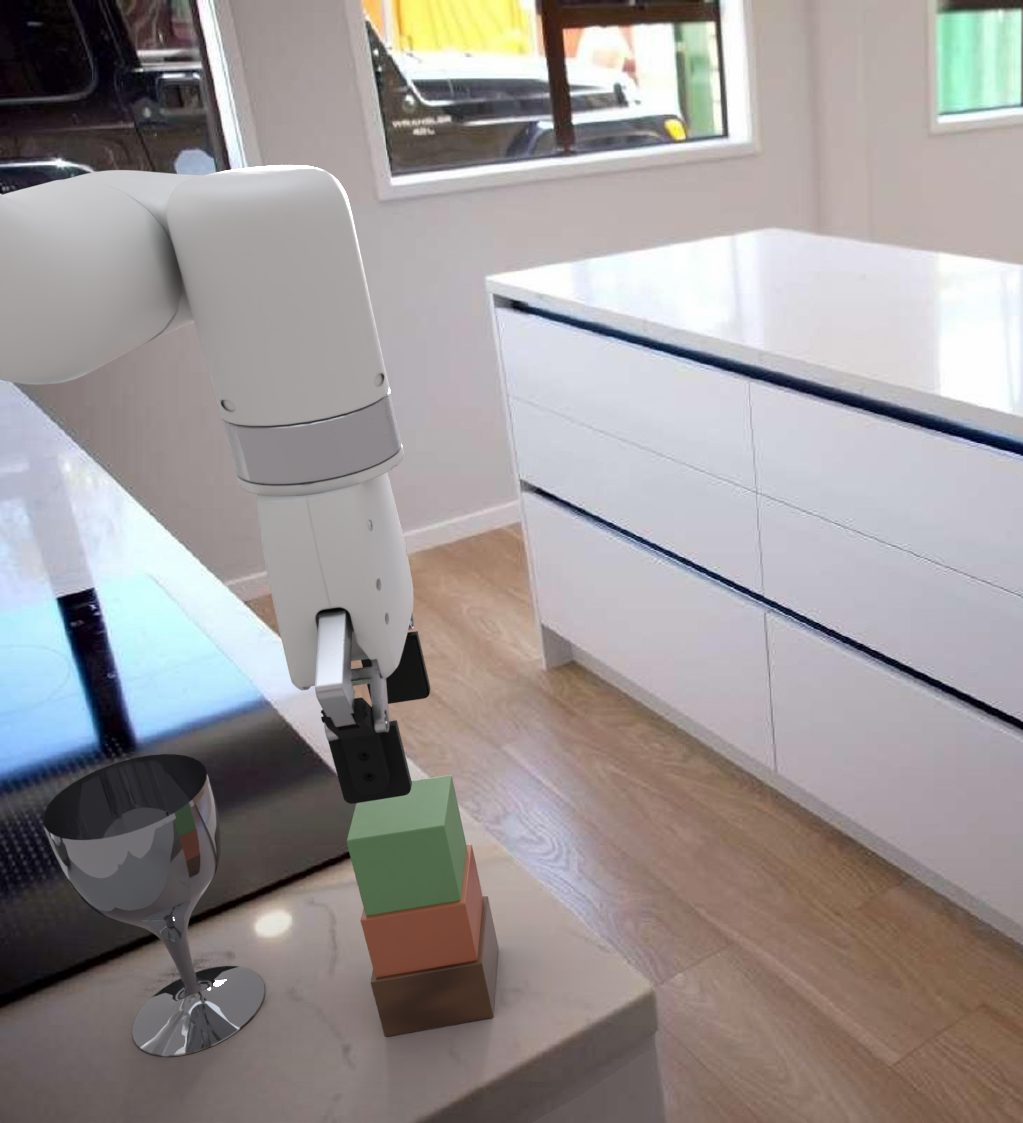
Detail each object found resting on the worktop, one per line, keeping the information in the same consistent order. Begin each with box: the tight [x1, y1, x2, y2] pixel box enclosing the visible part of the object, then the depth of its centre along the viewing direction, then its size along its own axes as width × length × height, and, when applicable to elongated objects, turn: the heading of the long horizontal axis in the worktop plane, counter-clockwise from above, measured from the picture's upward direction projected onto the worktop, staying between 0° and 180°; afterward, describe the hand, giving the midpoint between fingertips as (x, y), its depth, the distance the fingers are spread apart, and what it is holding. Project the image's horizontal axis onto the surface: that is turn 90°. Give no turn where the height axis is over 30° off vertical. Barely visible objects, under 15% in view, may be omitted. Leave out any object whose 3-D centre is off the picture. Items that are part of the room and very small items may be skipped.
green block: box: [346, 774, 468, 916], centre depth 70 cm, size 5×5×5 cm
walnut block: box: [369, 895, 499, 1037], centre depth 74 cm, size 6×6×4 cm
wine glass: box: [42, 753, 266, 1057], centre depth 71 cm, size 8×8×15 cm
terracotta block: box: [360, 843, 484, 978], centre depth 72 cm, size 6×6×4 cm
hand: (391, 744), depth 68 cm, fingers open, 9 cm apart
